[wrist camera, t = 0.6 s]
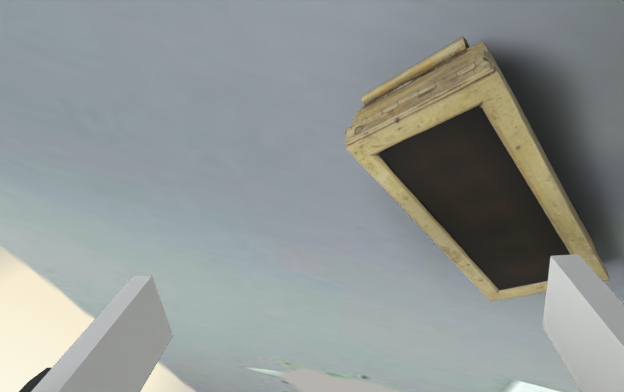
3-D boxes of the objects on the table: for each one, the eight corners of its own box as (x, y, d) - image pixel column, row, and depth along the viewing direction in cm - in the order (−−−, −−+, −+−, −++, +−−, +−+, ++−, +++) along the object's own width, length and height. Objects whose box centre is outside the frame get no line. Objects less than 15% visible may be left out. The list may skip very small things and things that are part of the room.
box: (477, 6, 19) (492, 63, 16) (610, 242, 30) (634, 302, 27) (342, 92, 24) (332, 149, 21) (500, 268, 35) (510, 322, 32)
